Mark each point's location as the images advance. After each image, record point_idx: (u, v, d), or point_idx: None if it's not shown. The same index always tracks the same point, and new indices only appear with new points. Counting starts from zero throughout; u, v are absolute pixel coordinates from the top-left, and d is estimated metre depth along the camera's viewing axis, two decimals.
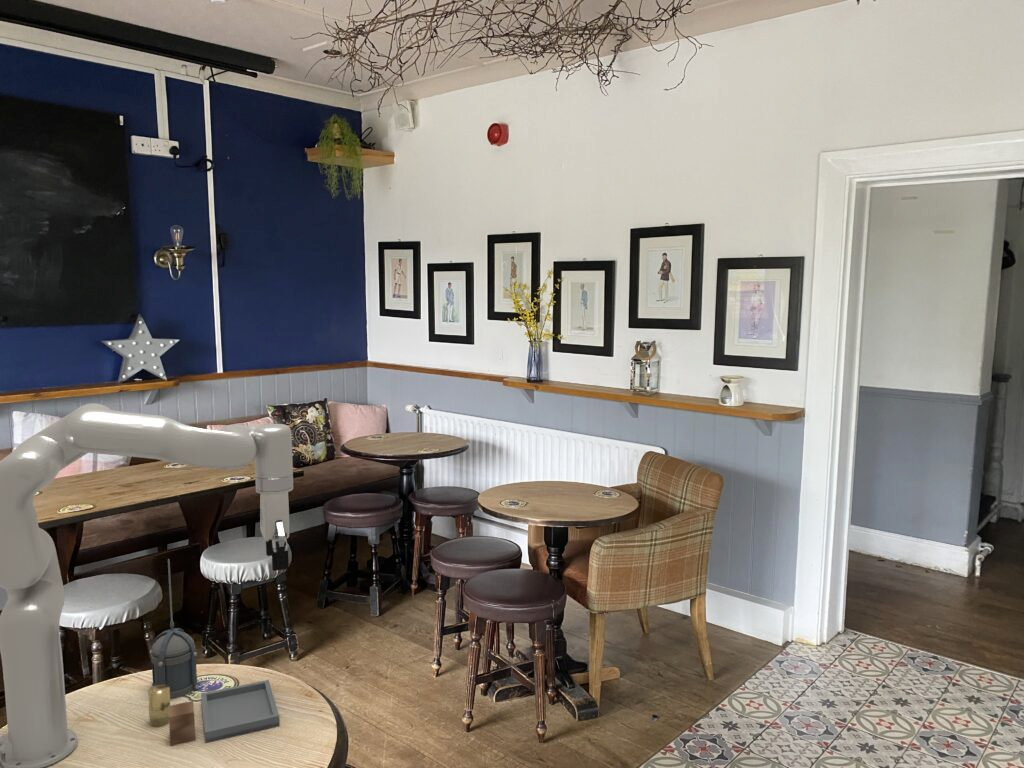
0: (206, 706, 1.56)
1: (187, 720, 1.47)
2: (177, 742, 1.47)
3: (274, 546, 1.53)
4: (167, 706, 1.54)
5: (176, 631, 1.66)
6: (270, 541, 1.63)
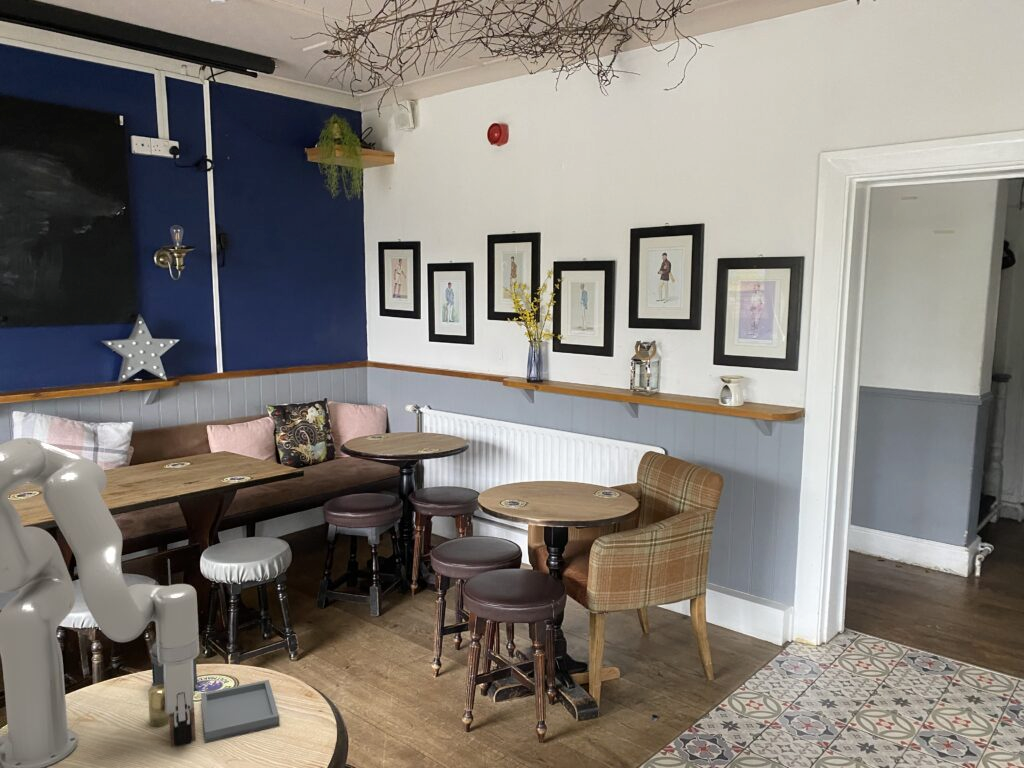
0: (206, 706, 1.56)
1: None
2: None
3: (175, 722, 1.45)
4: None
5: None
6: None
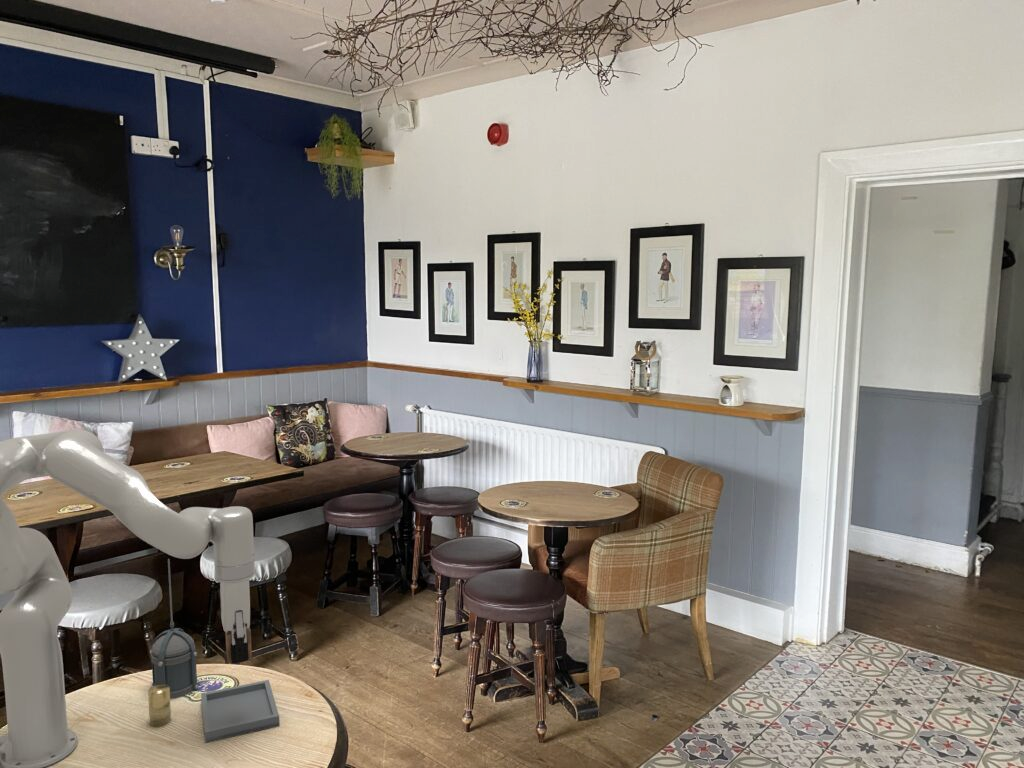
0: (206, 706, 1.56)
1: None
2: None
3: (233, 640, 1.48)
4: (167, 706, 1.54)
5: (176, 631, 1.66)
6: None
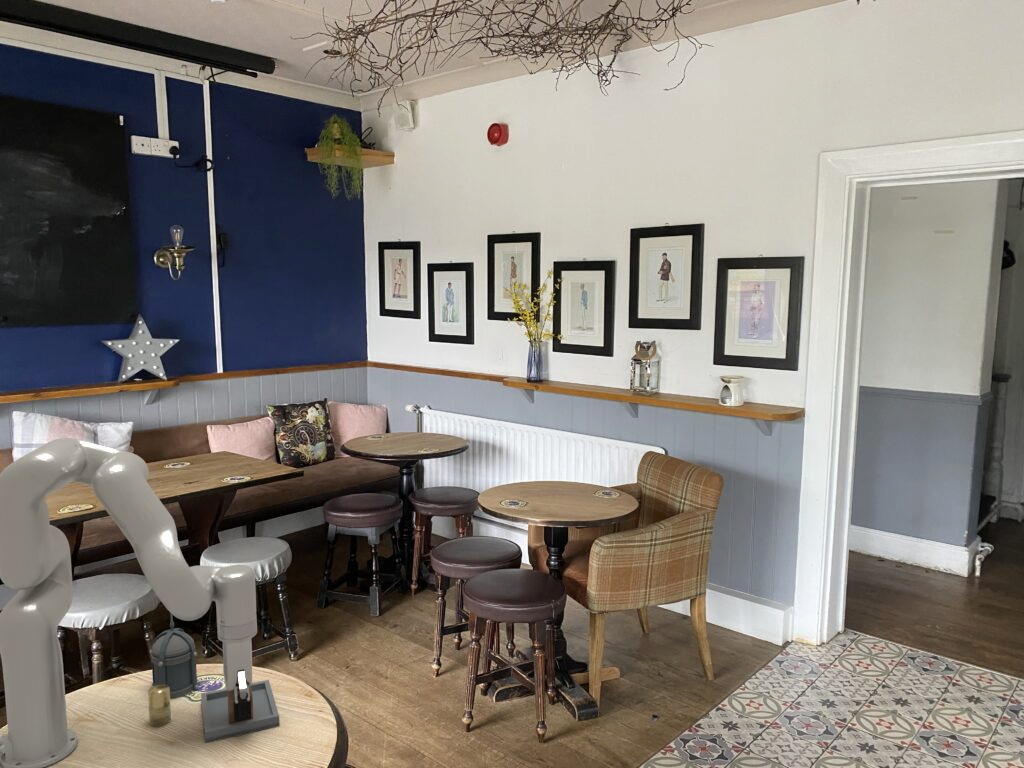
0: (206, 706, 1.56)
1: None
2: None
3: (236, 697, 1.47)
4: (167, 706, 1.54)
5: (176, 631, 1.66)
6: None
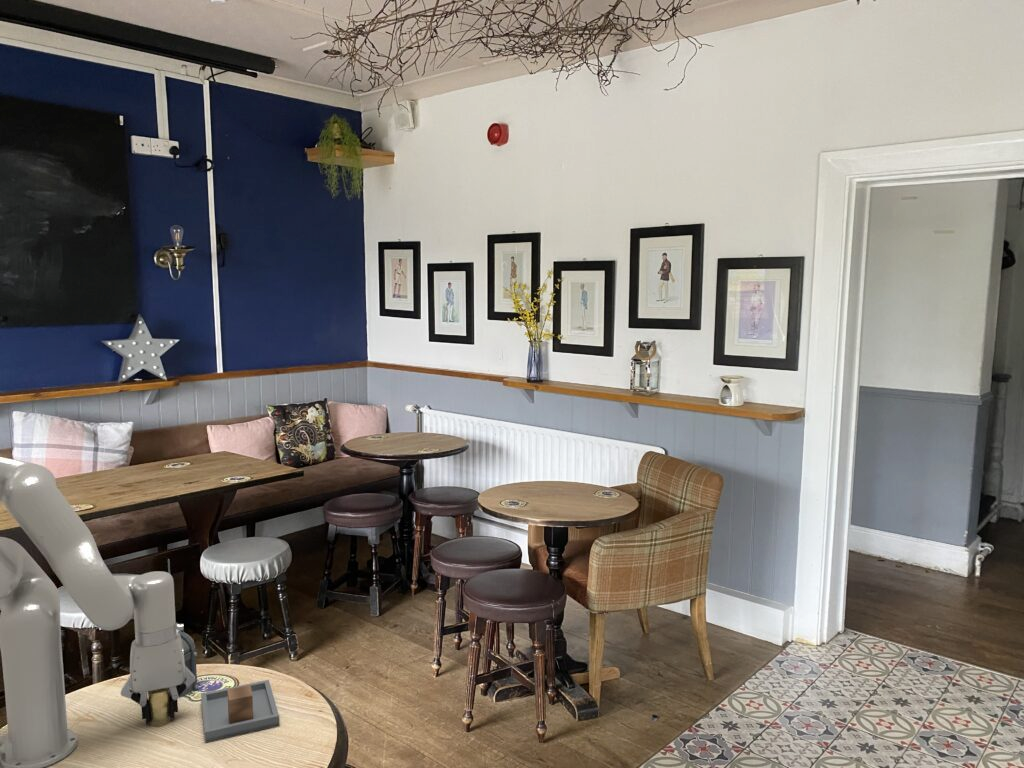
0: (206, 706, 1.56)
1: (245, 703, 1.52)
2: None
3: None
4: (167, 706, 1.54)
5: None
6: None
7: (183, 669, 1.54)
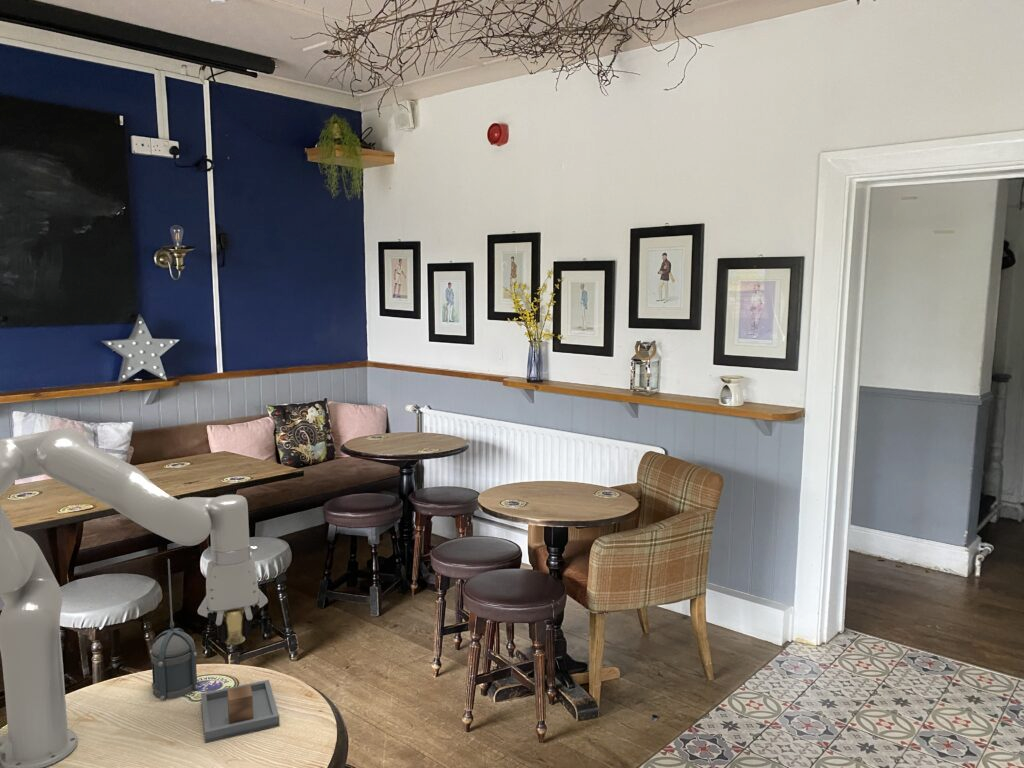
0: (206, 706, 1.56)
1: (245, 703, 1.52)
2: None
3: None
4: (242, 625, 1.58)
5: (176, 631, 1.66)
6: None
7: (257, 590, 1.58)
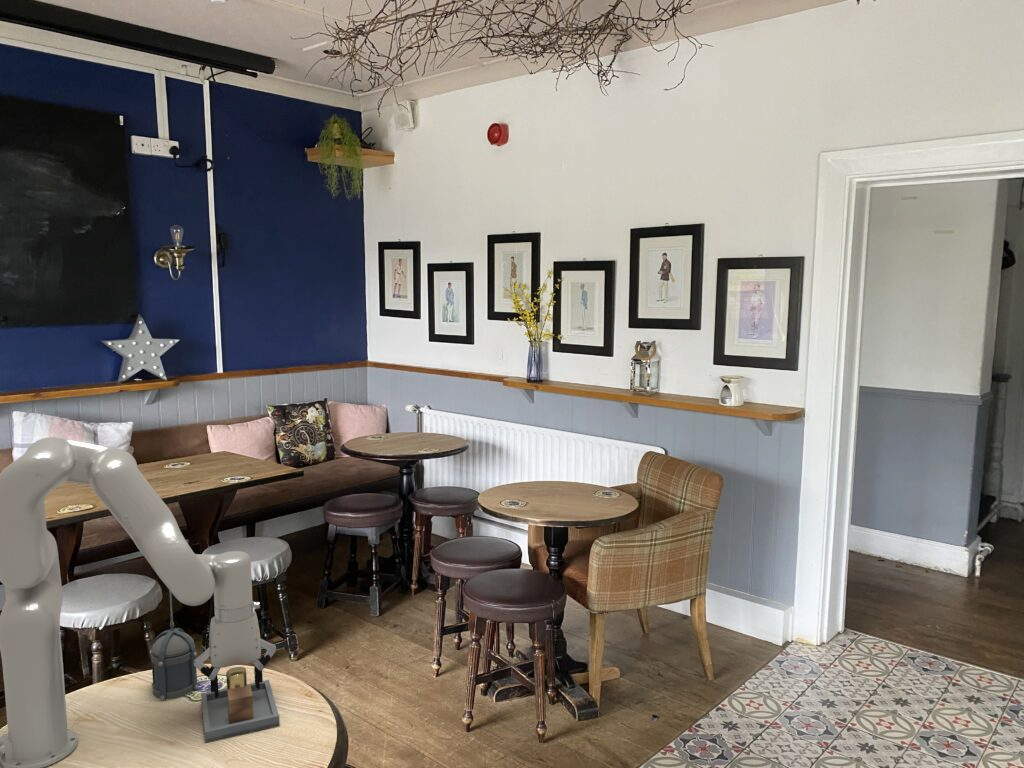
0: (206, 706, 1.56)
1: (245, 703, 1.52)
2: None
3: None
4: None
5: (176, 631, 1.66)
6: (254, 670, 1.62)
7: (259, 645, 1.60)
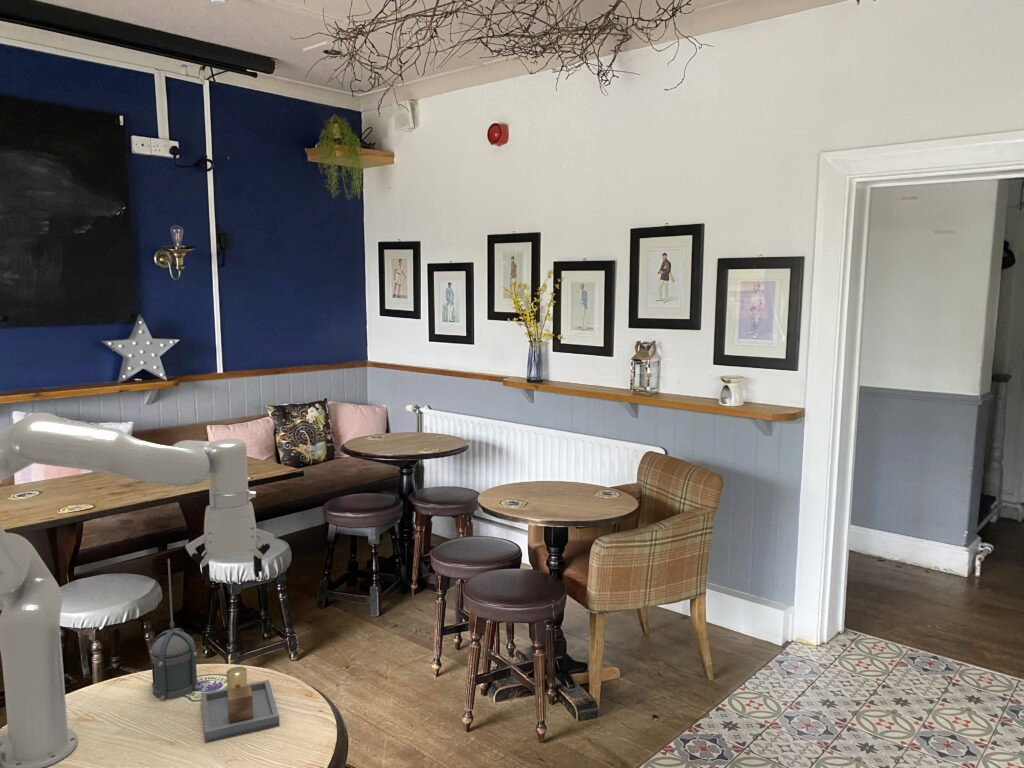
0: (206, 706, 1.56)
1: (245, 703, 1.52)
2: None
3: None
4: None
5: (176, 631, 1.66)
6: None
7: (255, 535, 1.57)
